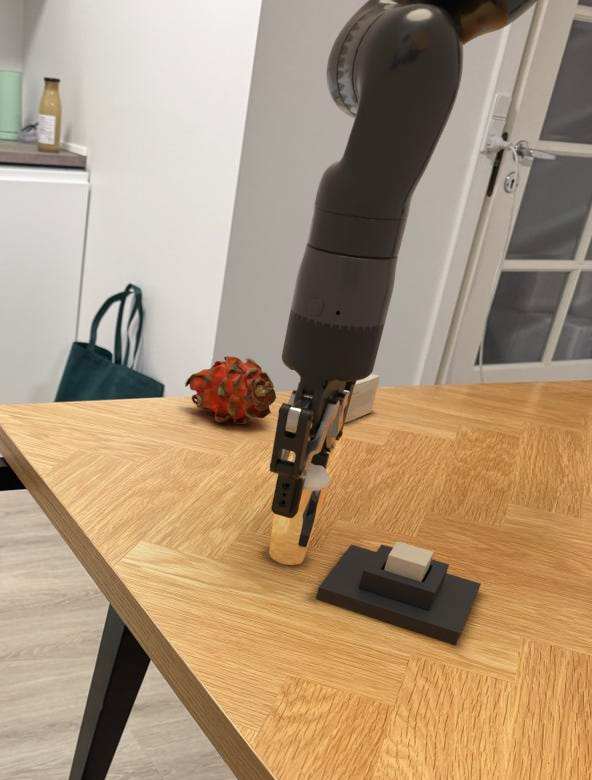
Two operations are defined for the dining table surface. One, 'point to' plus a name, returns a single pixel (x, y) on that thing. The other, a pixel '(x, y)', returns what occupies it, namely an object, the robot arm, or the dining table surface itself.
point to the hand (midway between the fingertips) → (296, 501)
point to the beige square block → (408, 561)
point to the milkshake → (299, 520)
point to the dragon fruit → (233, 390)
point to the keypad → (400, 594)
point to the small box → (362, 397)
